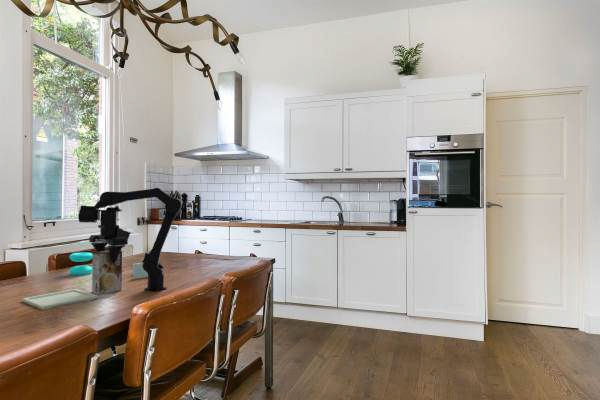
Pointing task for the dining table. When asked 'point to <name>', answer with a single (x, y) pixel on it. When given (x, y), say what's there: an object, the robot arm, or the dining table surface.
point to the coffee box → (106, 273)
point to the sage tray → (59, 299)
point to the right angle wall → (139, 271)
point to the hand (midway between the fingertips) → (107, 261)
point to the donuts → (79, 258)
